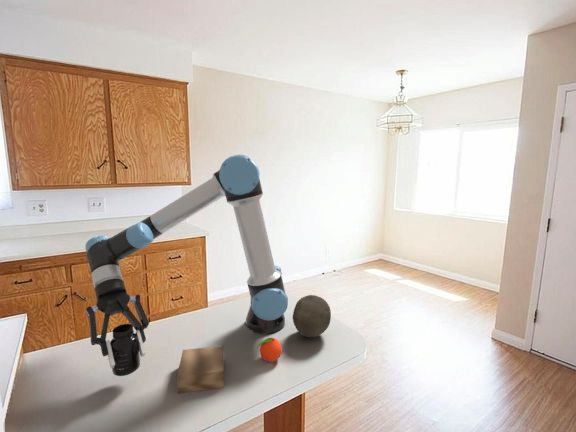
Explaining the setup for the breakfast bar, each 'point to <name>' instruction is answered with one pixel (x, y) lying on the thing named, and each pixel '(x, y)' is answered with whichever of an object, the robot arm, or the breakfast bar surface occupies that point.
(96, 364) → the breakfast bar surface
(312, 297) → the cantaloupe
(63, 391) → the breakfast bar surface
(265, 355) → the clementine
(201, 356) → the walnut block
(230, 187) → the robot arm
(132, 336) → the supplement bottle
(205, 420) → the breakfast bar surface
